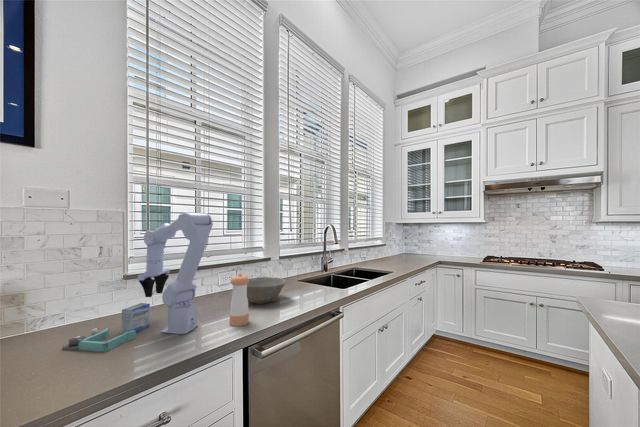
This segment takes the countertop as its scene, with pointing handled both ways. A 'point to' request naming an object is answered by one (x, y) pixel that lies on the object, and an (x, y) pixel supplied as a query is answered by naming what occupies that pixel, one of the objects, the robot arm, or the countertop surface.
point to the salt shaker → (239, 301)
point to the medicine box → (135, 317)
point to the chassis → (98, 341)
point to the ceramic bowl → (264, 289)
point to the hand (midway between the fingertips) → (154, 295)
